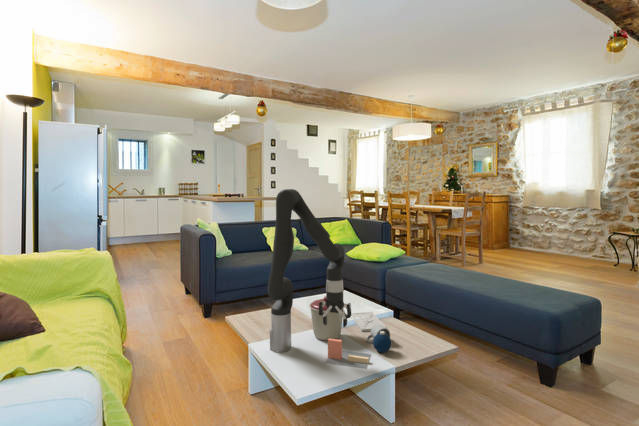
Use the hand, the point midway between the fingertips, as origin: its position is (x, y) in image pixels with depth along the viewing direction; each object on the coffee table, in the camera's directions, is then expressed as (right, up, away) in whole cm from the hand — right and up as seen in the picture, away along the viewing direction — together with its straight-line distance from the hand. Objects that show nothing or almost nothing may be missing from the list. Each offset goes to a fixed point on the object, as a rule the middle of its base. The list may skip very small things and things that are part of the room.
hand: (335, 325), depth 161 cm
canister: (-3, -14, +25) cm, 29 cm away
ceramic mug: (+22, -14, +19) cm, 32 cm away
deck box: (0, -14, +1) cm, 15 cm away
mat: (+6, -15, 0) cm, 16 cm away
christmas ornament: (+22, -15, +8) cm, 28 cm away
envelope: (+20, -13, +44) cm, 50 cm away
